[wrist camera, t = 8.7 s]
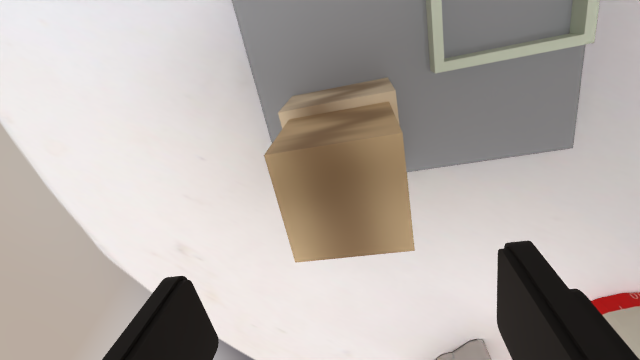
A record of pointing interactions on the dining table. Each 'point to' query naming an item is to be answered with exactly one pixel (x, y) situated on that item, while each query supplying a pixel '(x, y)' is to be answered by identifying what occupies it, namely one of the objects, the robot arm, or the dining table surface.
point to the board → (425, 70)
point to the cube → (342, 184)
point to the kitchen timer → (623, 317)
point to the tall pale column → (468, 352)
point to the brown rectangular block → (340, 99)
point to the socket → (580, 34)
